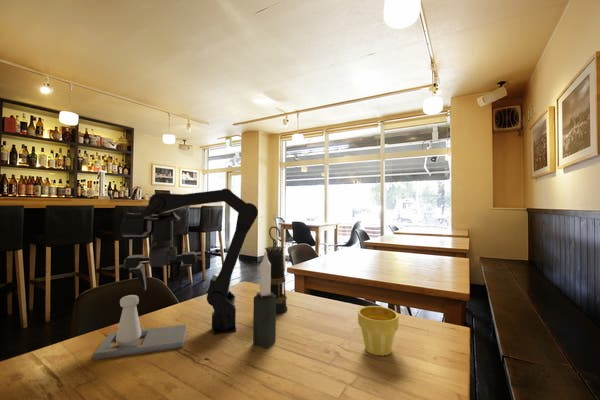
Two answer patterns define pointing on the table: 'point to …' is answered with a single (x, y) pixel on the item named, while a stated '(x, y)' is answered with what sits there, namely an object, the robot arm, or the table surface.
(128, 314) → the salt shaker
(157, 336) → the rail plate
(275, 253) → the lantern
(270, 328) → the candle
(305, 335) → the table surface
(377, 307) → the plant pot
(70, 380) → the table surface
